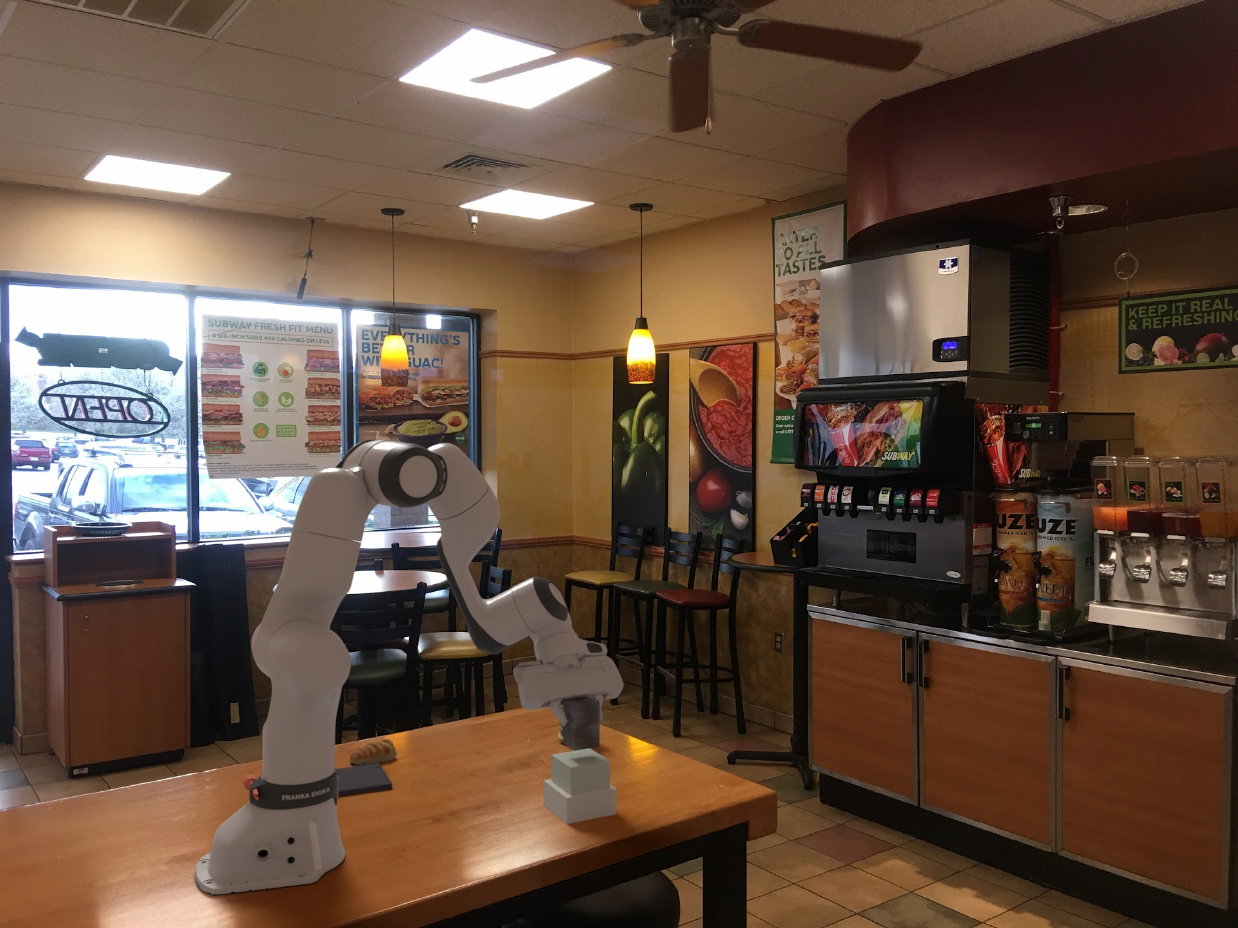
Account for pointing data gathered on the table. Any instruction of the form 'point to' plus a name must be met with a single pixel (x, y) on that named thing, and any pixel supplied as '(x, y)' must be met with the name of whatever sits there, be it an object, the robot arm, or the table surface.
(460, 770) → the table surface
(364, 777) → the notebook
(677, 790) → the table surface
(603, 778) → the tower top
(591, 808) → the tower base
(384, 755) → the pastry
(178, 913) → the table surface
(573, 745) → the charcoal block
